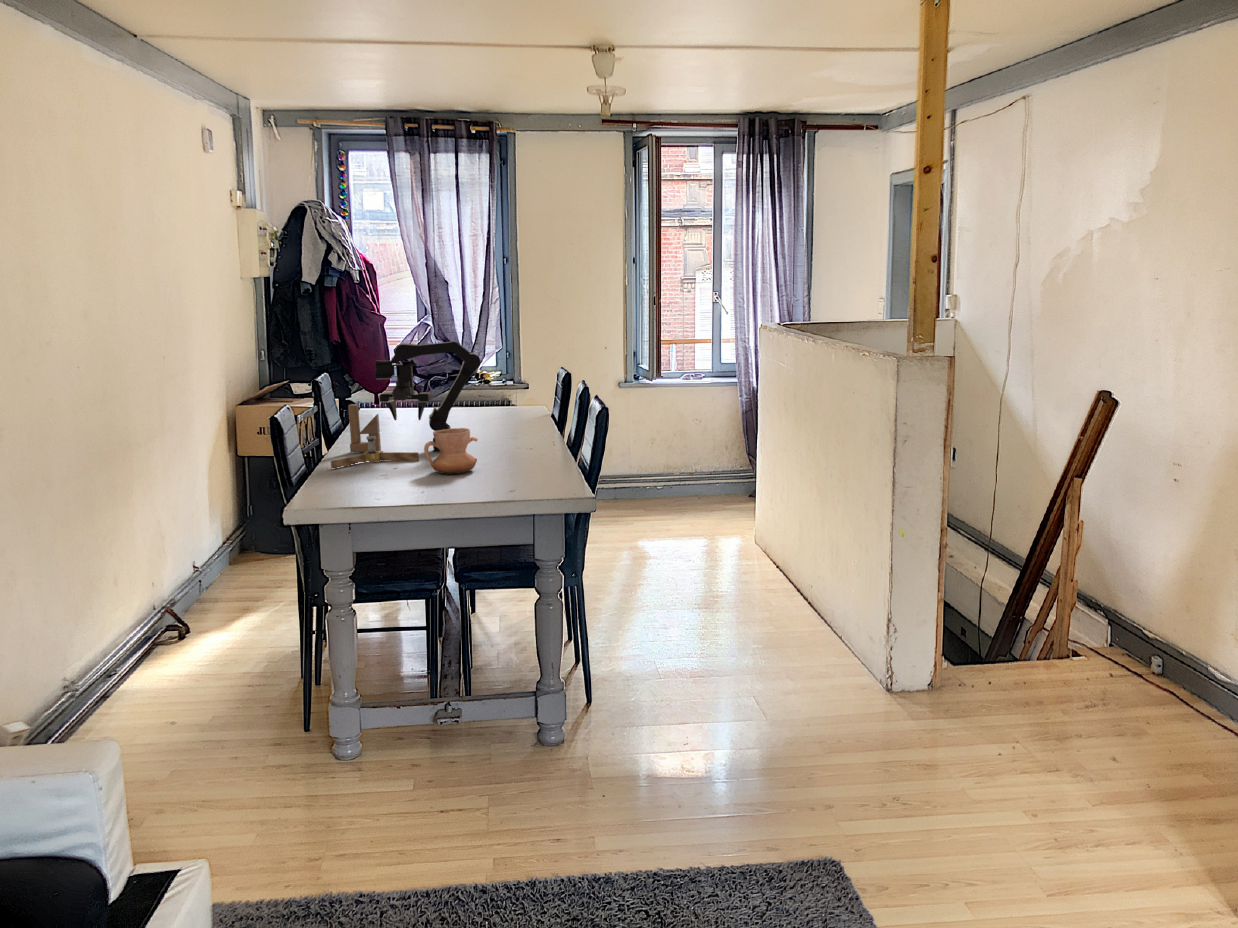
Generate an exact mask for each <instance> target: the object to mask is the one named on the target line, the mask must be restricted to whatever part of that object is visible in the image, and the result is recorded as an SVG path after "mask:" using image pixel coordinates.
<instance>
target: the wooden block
mask: <svg viewBox="0 0 1238 928" xmlns="http://www.w3.org/2000/svg"><path fill="white" fill-rule="evenodd" d="M347 407H348V418H349V419H348V420H349V421H348V422H349V433H350V443H349V450H350V453H351V452H366V451H368V441H361V440H362V439H361V435H368V436H376V439H375V451H382V446H381V433H380V431H381V430H380V419H379V418H380V417H379V413H377V414H376V415H375V416H374V417H373V418H371V420H370V421H369V422H368V423H367V425H365V427H364V428H363V429H362V430H361V426H360V425H361V424H360V413H359V411H360V410H359V404H354V403H351V404H348V406H347Z"/></svg>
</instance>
